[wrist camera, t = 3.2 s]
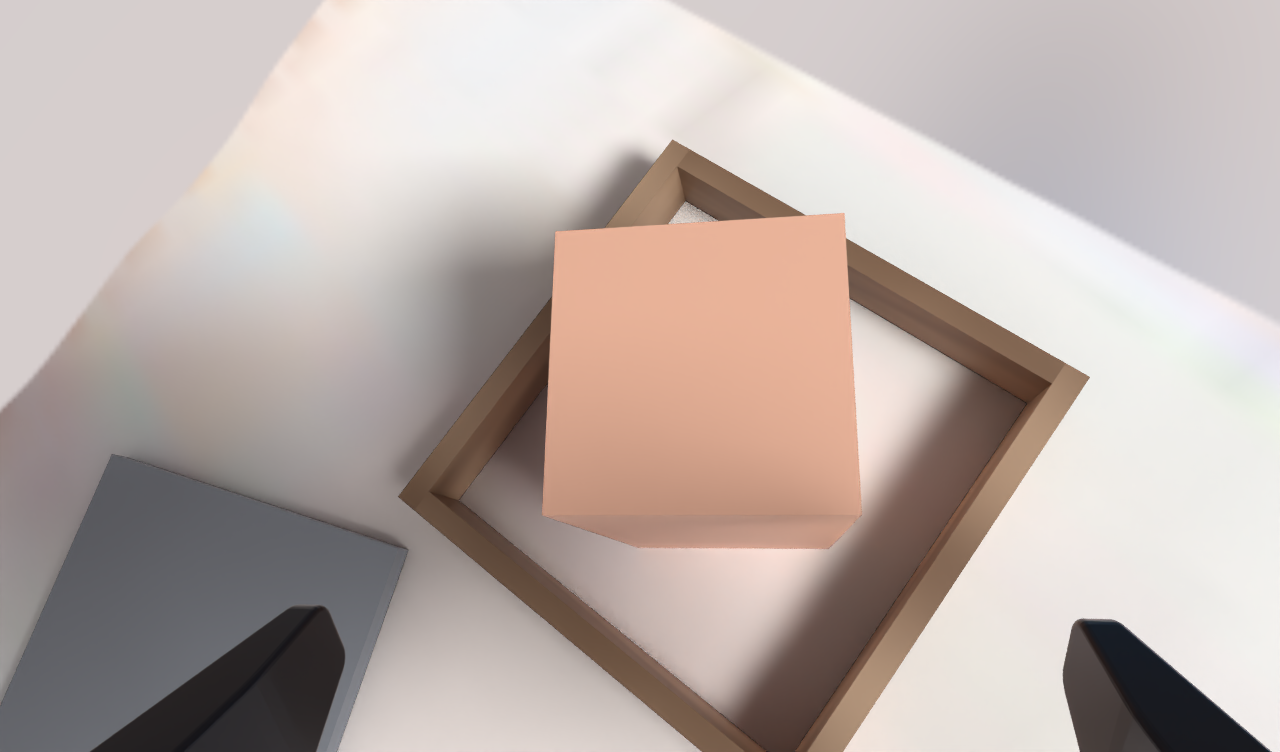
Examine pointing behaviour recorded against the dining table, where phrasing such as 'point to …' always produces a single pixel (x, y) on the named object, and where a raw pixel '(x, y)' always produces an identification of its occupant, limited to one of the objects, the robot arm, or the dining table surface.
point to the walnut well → (870, 285)
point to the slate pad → (182, 603)
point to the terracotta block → (703, 384)
